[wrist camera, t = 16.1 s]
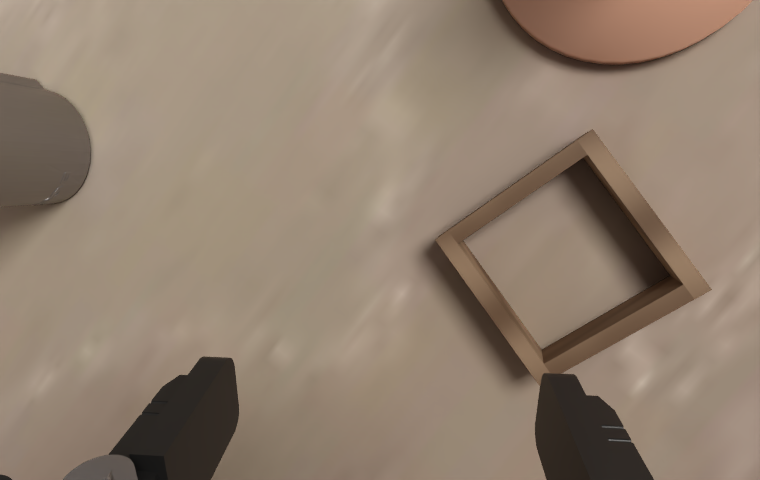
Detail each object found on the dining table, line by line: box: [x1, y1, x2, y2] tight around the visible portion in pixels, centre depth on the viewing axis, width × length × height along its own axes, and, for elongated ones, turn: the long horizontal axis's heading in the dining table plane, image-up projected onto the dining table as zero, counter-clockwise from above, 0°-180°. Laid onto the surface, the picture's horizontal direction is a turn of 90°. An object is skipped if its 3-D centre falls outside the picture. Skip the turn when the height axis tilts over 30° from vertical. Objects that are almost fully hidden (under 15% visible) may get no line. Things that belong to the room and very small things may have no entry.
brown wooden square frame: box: [435, 129, 712, 385], centre depth 31 cm, size 11×11×2 cm
